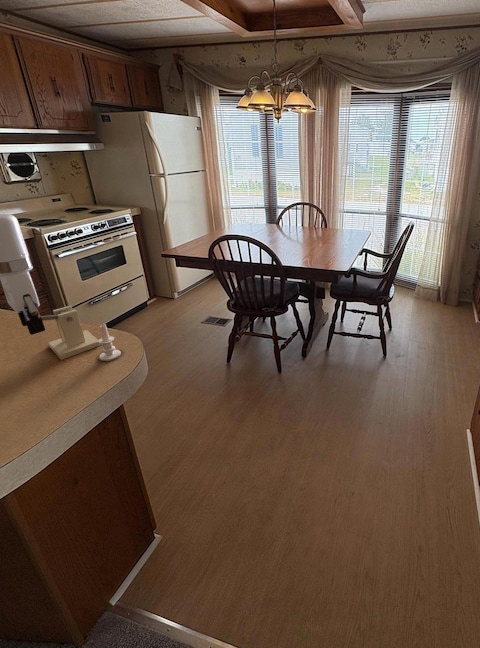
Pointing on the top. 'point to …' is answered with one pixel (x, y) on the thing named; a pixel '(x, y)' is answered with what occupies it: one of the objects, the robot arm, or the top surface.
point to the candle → (107, 345)
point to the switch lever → (50, 316)
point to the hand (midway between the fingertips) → (33, 327)
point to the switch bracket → (71, 335)
